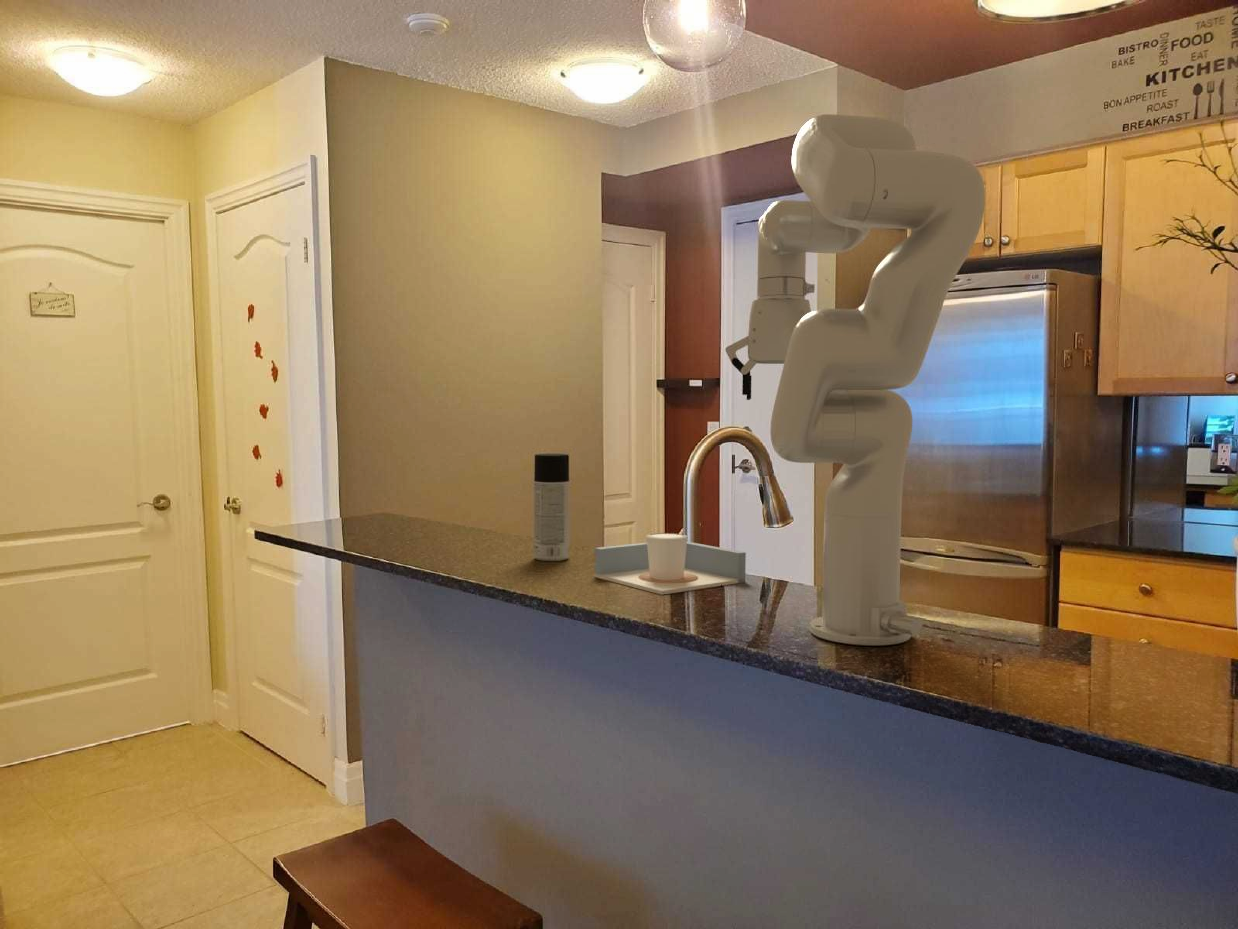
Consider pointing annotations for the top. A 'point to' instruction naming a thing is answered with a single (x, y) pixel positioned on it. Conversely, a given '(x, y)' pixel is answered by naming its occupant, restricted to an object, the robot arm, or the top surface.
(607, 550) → the arena
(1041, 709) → the top surface
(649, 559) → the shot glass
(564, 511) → the spray can
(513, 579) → the top surface
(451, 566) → the top surface
